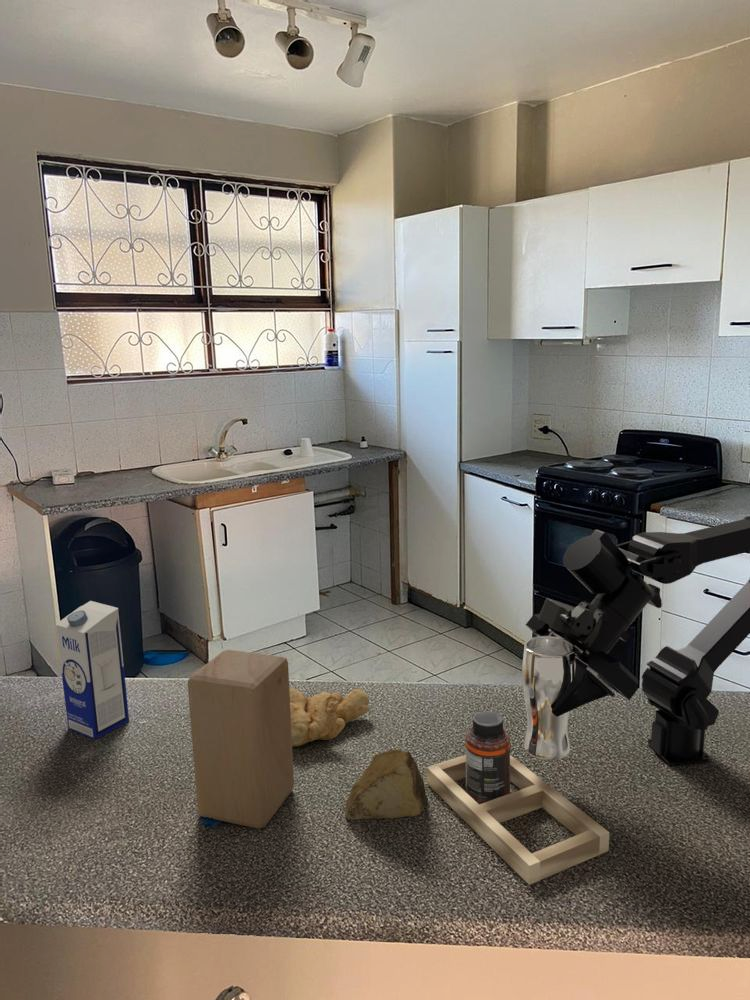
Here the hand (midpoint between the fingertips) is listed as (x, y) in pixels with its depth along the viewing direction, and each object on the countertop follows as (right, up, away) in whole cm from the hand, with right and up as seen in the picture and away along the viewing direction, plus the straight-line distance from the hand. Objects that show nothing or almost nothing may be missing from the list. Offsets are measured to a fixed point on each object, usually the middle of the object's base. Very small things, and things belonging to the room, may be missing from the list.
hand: (539, 702), depth 100 cm
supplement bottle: (-7, -13, +2) cm, 15 cm away
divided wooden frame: (-4, -14, -3) cm, 15 cm away
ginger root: (-32, -10, +19) cm, 38 cm away
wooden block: (-39, -14, +1) cm, 42 cm away
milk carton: (-67, -10, +22) cm, 71 cm away
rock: (-21, -14, -1) cm, 25 cm away
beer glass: (+1, -7, +2) cm, 7 cm away
